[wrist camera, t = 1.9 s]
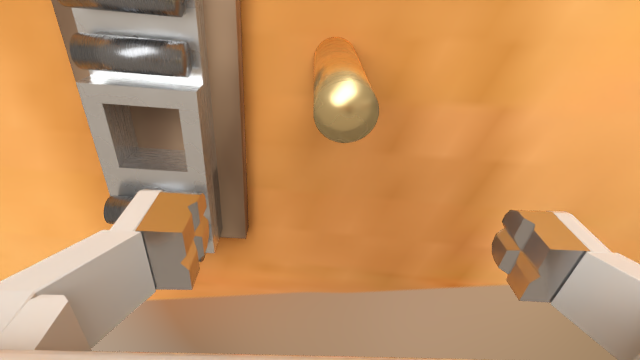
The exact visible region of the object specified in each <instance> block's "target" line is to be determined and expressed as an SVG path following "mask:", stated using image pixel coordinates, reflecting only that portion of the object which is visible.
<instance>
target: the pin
mask: <svg viewBox="0 0 640 360" xmlns="http://www.w3.org/2000/svg"><path fill="white" fill-rule="evenodd" d="M378 116H379V106H378V101H377V99H376V97H375V94H374V92H373V90H372V87H371V85H370V83H369V81H368V78H367V76H366V74H365V72H364V69H363V67H362V65H361V63H360V60H359V58H358V56H357V54H356V51H355V49H354V47H353V46H352V44H351V43H350V42H349V41H347V40H346V39H343V38H340V37H331V38H328V39H326V40H324V41H323V42H322V43H321V44H320V45H319V46H318V47H317V49H316V51H315V55H314V120H315V124H316V126H317V128H318V129H319V131H320V132H321V133H322V134H323V135H324V136H325V137H327V138H328V139H330V140H333V141H336V142H341V143H349V142H354V141H357V140H359V139H362V138H363V137H365V136H366V135H367V134H369V133H370V131H371V130H372V129H373V128H374V126H375V124H376V122H377V120H378Z"/></svg>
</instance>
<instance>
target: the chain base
mask: <svg viewBox="0 0 640 360" xmlns="http://www.w3.org/2000/svg"><path fill="white" fill-rule="evenodd" d="M51 1H52V4H53V7H54V11H55V14H56V17H57V21H58V24H59V27H60V31H61V34H62V37H63V40H64V44H65V47H66V50H67V54H68V57H69V60H70V64H71V67H72V70H73V74H74V77H75V80H76V82H78V81H80V80H82V79H83V78H85V77H87V76H89V75H90V73H89V70H85V69H80V68H78V67H77V66H76V65H75V63H74V62H73V60H72V57H71V54H70V39H71V37H72V35H73V34H75V33H78V30H77V26H76V23H75V19H74V16H73V12H72V8H71V7H64V6H63V5H61V4H60V3H59V2H58V1H57V0H51ZM202 3H203V14H204V25H205V36H206V48H207V59H208V70H209V81H210V92H211V103H212V114H213V126H214V137H215V148H216V159H217V170H218V181H219V192H220V204H221V215H222V226H223V230H222V233H221V236H220V237H227V238H245V239H246V236H247V232H248V201H247V173H246V145H245V118H244V90H243V63H242V35H241V8H240V0H202ZM129 108H130V112H131V117H132V121H133V125H134V130H135V134H136V139H137V143H138V147H139V148H154V149H168V150H183V151H185V149H184V142H183V135H182V128H181V121H180V114H179V109H171V108H157V107H144V106H131V105H129Z"/></svg>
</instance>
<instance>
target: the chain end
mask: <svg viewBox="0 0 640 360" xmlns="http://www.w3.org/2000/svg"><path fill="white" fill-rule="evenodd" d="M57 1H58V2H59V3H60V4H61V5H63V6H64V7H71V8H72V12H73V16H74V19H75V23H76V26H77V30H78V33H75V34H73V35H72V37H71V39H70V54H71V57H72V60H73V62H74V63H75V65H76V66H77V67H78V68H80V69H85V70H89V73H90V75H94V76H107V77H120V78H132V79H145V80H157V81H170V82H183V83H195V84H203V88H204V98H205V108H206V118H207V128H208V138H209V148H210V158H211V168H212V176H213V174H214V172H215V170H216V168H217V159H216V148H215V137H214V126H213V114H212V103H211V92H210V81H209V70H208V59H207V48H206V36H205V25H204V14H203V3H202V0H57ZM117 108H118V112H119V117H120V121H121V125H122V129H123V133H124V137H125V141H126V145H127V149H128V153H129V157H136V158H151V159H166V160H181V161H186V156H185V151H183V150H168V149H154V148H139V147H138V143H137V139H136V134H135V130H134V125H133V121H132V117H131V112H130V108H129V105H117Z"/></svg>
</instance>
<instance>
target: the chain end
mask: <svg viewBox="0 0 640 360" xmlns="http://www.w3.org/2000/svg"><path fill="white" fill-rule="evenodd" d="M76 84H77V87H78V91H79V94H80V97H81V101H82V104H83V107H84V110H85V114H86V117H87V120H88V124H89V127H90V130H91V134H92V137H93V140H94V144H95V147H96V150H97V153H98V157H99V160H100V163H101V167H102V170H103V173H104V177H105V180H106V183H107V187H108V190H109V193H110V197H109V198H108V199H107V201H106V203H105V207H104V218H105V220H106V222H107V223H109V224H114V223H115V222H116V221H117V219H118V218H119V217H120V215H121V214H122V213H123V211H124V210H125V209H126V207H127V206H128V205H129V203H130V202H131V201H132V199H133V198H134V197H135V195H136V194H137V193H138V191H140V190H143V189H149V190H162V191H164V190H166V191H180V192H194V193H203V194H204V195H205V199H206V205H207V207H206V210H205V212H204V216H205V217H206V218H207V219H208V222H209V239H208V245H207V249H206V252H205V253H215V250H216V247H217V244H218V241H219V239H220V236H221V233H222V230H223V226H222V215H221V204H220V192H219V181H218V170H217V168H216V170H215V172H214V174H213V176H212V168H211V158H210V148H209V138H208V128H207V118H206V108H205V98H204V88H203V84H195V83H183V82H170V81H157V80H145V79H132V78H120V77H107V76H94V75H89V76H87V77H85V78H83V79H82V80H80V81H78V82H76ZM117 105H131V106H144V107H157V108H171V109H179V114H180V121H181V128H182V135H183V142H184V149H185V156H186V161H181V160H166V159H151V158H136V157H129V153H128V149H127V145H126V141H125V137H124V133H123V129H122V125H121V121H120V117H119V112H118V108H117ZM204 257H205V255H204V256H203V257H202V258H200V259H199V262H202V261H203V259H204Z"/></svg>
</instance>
